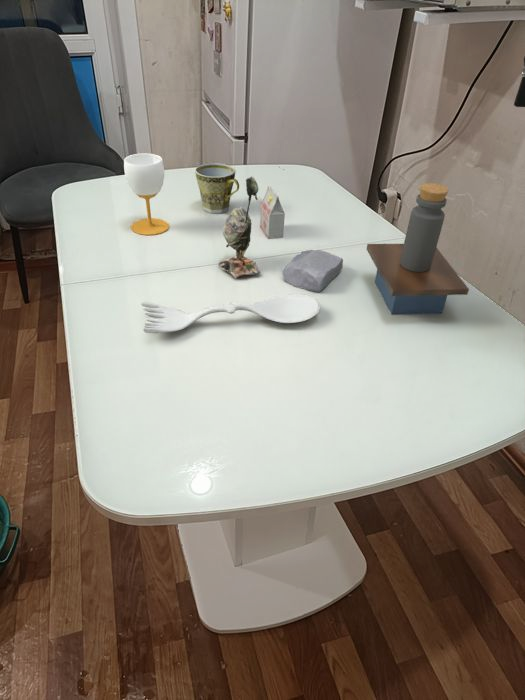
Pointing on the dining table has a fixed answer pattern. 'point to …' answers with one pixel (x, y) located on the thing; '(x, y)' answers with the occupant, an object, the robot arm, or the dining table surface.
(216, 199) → the ceramic cup
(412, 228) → the bottle
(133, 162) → the cup
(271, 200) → the milk carton
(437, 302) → the box
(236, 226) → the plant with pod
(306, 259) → the stone block
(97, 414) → the dining table surface
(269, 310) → the spoon
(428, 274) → the board
